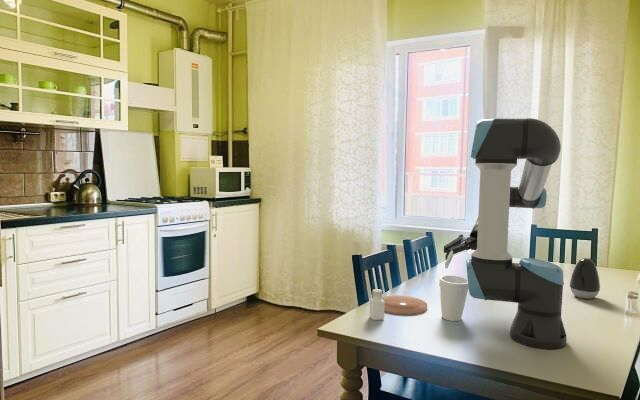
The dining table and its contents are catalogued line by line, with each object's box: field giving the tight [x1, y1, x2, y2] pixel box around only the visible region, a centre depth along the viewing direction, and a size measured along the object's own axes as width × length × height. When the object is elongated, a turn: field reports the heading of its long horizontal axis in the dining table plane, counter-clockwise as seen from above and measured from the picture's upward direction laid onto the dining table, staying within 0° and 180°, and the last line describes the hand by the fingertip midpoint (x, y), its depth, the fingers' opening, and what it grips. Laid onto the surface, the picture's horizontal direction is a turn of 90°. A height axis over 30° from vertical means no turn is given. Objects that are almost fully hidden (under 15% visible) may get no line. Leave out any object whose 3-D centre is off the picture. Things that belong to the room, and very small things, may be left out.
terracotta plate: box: [382, 295, 428, 316], centre depth 166 cm, size 18×18×1 cm
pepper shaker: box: [369, 288, 385, 321], centre depth 153 cm, size 4×4×10 cm
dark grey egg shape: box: [569, 258, 601, 300], centre depth 180 cm, size 10×10×15 cm
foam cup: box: [438, 275, 469, 322], centre depth 154 cm, size 10×9×13 cm
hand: (466, 270), depth 156 cm, fingers open, 13 cm apart
